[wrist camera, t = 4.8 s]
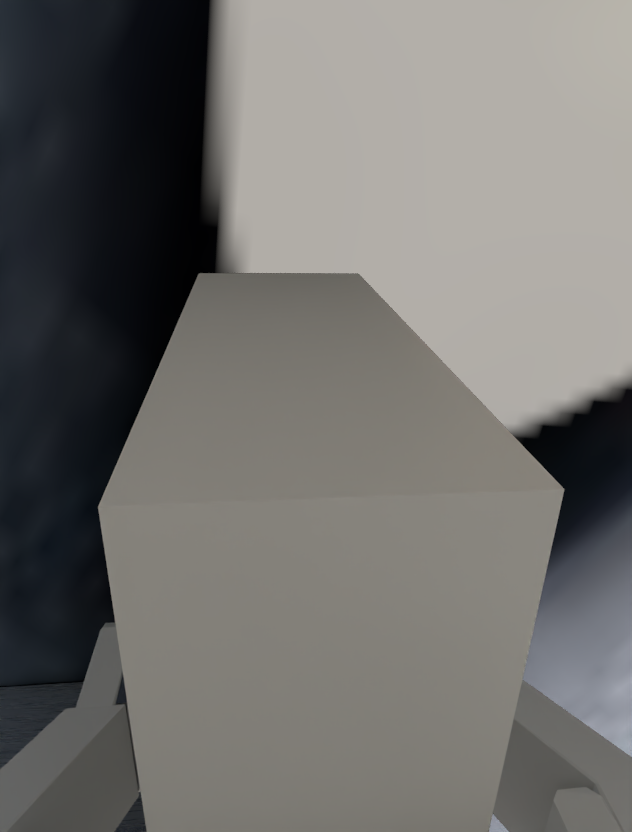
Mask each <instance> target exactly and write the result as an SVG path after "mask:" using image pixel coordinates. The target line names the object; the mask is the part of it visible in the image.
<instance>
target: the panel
mask: <svg viewBox="0 0 632 832" xmlns="http://www.w3.org/2000/svg"><path fill="white" fill-rule="evenodd" d="M563 494H564V488H563V487H562V486H561V485H560V484H559V483H558V482H557V481H556V480H555V479H554V478H553V477H552V476H551V475H550V474H549V473H548V472H547V471H546V469H545V468H544V467H543V466H542V465H541V464H540V463H539V462H538V461H537V460H536V459H535V458H534V457H533V456H532V455H531V454H530V453H529V452H528V451H527V450H526V449H525V447H524V446H523V445H522V444H521V443H520V442H519V441H518V440H517V439H516V438H515V437H514V436H513V435H512V434H511V433H510V432H509V431H508V430H507V429H506V428H505V427H504V426H503V424H502V423H501V422H500V421H499V420H498V419H497V418H496V417H495V416H494V415H493V414H492V413H491V412H490V411H489V410H488V409H487V408H486V407H485V406H484V405H483V404H482V402H481V401H479V399H478V398H477V397H476V396H475V395H474V394H473V393H472V392H471V391H470V390H469V389H468V388H467V387H466V386H465V385H464V384H463V383H462V382H461V381H460V380H459V378H458V377H456V375H455V374H454V373H453V372H452V371H451V370H450V369H449V368H448V367H447V366H446V365H445V364H444V363H443V362H442V361H441V360H440V359H439V358H438V356H437V355H436V354H435V353H434V352H433V351H432V350H431V349H430V348H429V347H428V346H427V345H426V344H425V343H424V342H423V341H422V340H421V339H420V338H419V337H418V336H417V334H416V333H415V332H414V331H413V330H412V329H411V328H410V327H409V326H408V325H407V324H406V323H405V322H404V321H403V320H402V319H401V318H400V317H399V316H398V315H397V314H396V312H395V311H394V310H393V309H392V308H391V307H390V306H389V305H388V304H387V303H386V302H385V301H384V300H383V299H382V298H381V297H380V296H379V295H378V294H377V293H376V292H375V291H374V290H373V288H372V287H370V285H369V284H368V283H367V282H366V281H365V280H364V279H363V278H362V277H361V276H360V275H359V274H321V273H318V274H317V273H316V274H314V273H312V274H311V273H310V274H309V273H306V274H305V273H302V274H301V273H297V274H296V273H199V274H198V276H197V279H196V281H195V283H194V286H193V288H192V290H191V293H190V295H189V297H188V299H187V302H186V304H185V306H184V309H183V311H182V313H181V316H180V318H179V320H178V323H177V325H176V327H175V330H174V332H173V334H172V337H171V339H170V341H169V344H168V346H167V348H166V350H165V353H164V355H163V357H162V360H161V362H160V364H159V367H158V369H157V371H156V374H155V376H154V378H153V381H152V383H151V385H150V388H149V390H148V392H147V394H146V397H145V399H144V401H143V404H142V406H141V408H140V411H139V413H138V415H137V418H136V420H135V422H134V425H133V427H132V429H131V432H130V434H129V436H128V439H127V441H126V443H125V445H124V448H123V450H122V452H121V455H120V457H119V459H118V462H117V464H116V466H115V469H114V471H113V473H112V476H111V478H110V480H109V483H108V485H107V487H106V489H105V492H104V494H103V496H102V499H101V501H100V503H99V506H98V510H99V517H100V524H101V530H102V537H103V544H104V550H105V557H106V564H107V570H108V577H109V584H110V590H111V597H112V604H113V611H114V617H115V624H116V631H117V637H118V644H119V651H120V657H121V664H122V671H123V677H124V684H125V691H126V697H127V704H128V711H129V717H130V724H131V731H132V737H133V744H134V751H135V757H136V764H137V771H138V777H139V784H140V791H141V797H142V804H143V811H144V817H145V824H146V831H147V832H489V828H490V823H491V819H492V814H493V810H494V805H495V801H496V796H497V792H498V787H499V783H500V778H501V774H502V769H503V765H504V760H505V756H506V751H507V747H508V742H509V738H510V733H511V729H512V724H513V720H514V715H515V710H516V706H517V701H518V697H519V692H520V688H521V683H522V679H523V674H524V670H525V665H526V661H527V656H528V652H529V647H530V643H531V638H532V634H533V629H534V625H535V620H536V616H537V611H538V607H539V602H540V598H541V593H542V589H543V584H544V580H545V575H546V571H547V566H548V561H549V557H550V552H551V548H552V543H553V539H554V534H555V530H556V525H557V521H558V516H559V512H560V507H561V503H562V498H563Z"/></svg>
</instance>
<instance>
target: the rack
mask: <svg viewBox="0 0 632 832" xmlns="http://www.w3.org/2000/svg"><path fill="white" fill-rule="evenodd" d="M83 683H84V682H74V683H59V684H45V685H30V686H15V687H1V688H0V769H1V768H2V767H3V766H4V765H5V764H7V763H8V762H9V761H10V760H11V759H12V758H13V757H14V756H15V755H16V754H17V753H18V752H19V751H20V750H22V749H23V748H24V747H25V746H26V745H27V744H28V743H29V742H30V741H31V740H32V739H33V738H34V737H36V736H37V735H38V734H39V733H40V732H41V731H42V730H43V729H44V728H45V727H46V726H47V725H48V724H50V723H51V722H52V721H53V720H54V719H55V718H56V717H57V716H58V715H59V714H60V713H61V712H62V711H63V710H65V709H67V708H76V705H77V702H78V699H79V695H80V692H81V689H82V686H83ZM138 793H139V796H138V798H137V799H136V801H135V802H134V804H133V805H132V807H131V808H130V810H129V811H128V812H127V814H126V815H125V817H124V818H123V820H122V821H121V823H120V824H119V826H118V827H117V828H116V830H115V831H114V832H147V831H146V824H145V817H144V811H143V804H142V797H141V792H138Z"/></svg>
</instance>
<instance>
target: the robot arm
mask: <svg viewBox="0 0 632 832" xmlns="http://www.w3.org/2000/svg"><path fill="white" fill-rule="evenodd" d="M138 792H141V791H140V784H139V777H138V771H137V764H136V757H135V751H134V744H133V737H132V731H131V724H130V717H129V711H128V704H127V697H126V691H125V684H124V677H123V671H122V664H121V657H120V651H119V644H118V637H117V631H116V624H115V623H105V624H104V626H103V627H102V628H101V630H100V632H99V636H98V639H97V642H96V645H95V648H94V651H93V654H92V658H91V661H90V664H89V667H88V670H87V673H86V676H85V680H84V683H83V686H82V689H81V692H80V695H79V699H78V702H77V705H76V708H67V709H65V710H63V711H62V712H61V713H60V714H59V715H58V716H57V717H56V718H55V719H54V720H53V721H52V722H51V723H50V724H48V725H47V726H46V727H45V728H44V729H43V730H42V731H41V732H40V733H39V734H38V735H37V736H36V737H34V738H33V739H32V740H31V741H30V742H29V743H28V744H27V745H26V746H25V747H24V748H23V749H22V750H20V751H19V752H18V753H17V754H16V755H15V756H14V757H13V758H12V759H11V760H10V761H9V762H8V763H7V764H5V765H4V766H3V767H2V768H1V769H0V832H114V831H115V830H116V828H117V827H118V826H119V824H120V823H121V821H122V820H123V818H124V817H125V815H126V814H127V812H128V811H129V810H130V808H131V807H132V805H133V804H134V802H135V801H136V799H137V798H138V796H139V793H138ZM493 814H494V815H495V817H496V818H497V819H498V820H499V821H500V822H501V823H502V824H503V825H504V826H505V828H506V829H507V830H508V831H509V832H632V757H631V756H629V755H628V754H626V753H625V752H624V751H622V750H621V749H619V748H618V747H617V746H615V745H614V744H612V743H611V742H610V741H608V740H607V739H605V738H604V737H602V736H601V735H600V734H598V733H597V732H595V731H594V730H593V729H591V728H590V727H588V726H587V725H586V724H584V723H583V722H581V721H580V720H579V719H577V718H576V717H574V716H573V715H572V714H570V713H569V712H567V711H566V710H565V709H563V708H562V707H560V706H559V705H558V704H556V703H555V702H553V701H552V700H550V699H549V698H548V697H546V696H545V695H543V694H542V693H541V692H539V691H538V690H536V689H535V688H534V687H532V686H531V685H529V684H528V683H527V682H525V681H524V680H522V683H521V688H520V692H519V697H518V701H517V706H516V710H515V715H514V720H513V724H512V729H511V733H510V738H509V742H508V747H507V751H506V756H505V760H504V765H503V769H502V774H501V778H500V783H499V787H498V792H497V796H496V801H495V805H494V810H493Z"/></svg>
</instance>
